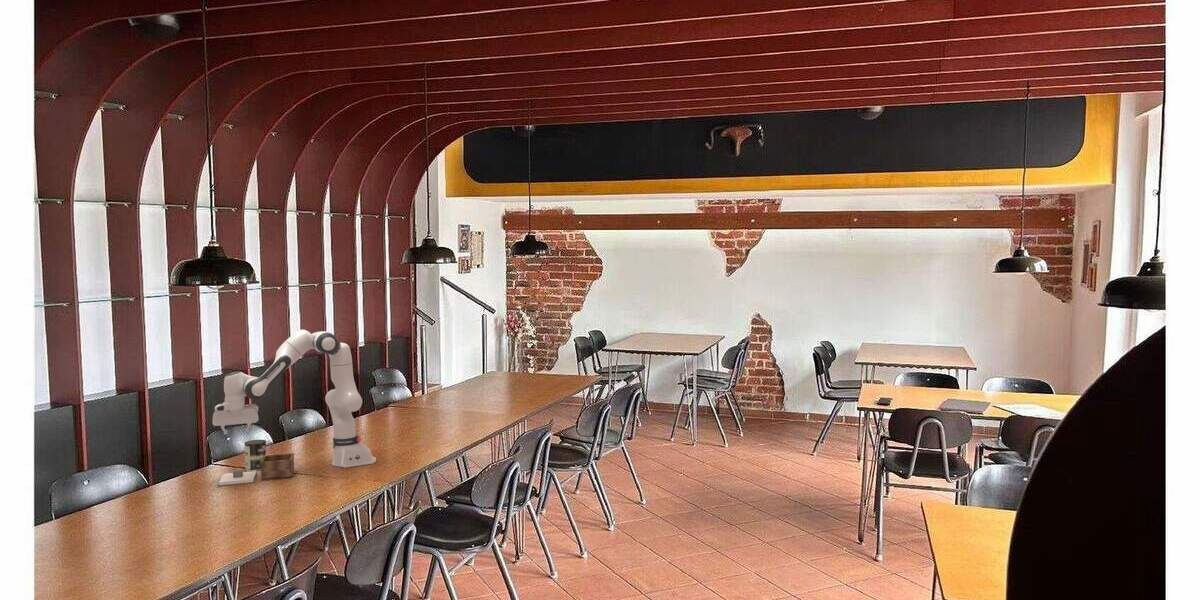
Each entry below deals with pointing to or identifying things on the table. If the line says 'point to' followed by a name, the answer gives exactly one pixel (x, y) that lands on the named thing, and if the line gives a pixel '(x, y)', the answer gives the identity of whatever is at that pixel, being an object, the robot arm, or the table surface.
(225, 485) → the mat
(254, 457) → the coffee can
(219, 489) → the table surface
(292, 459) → the storage box
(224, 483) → the lid
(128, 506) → the table surface
